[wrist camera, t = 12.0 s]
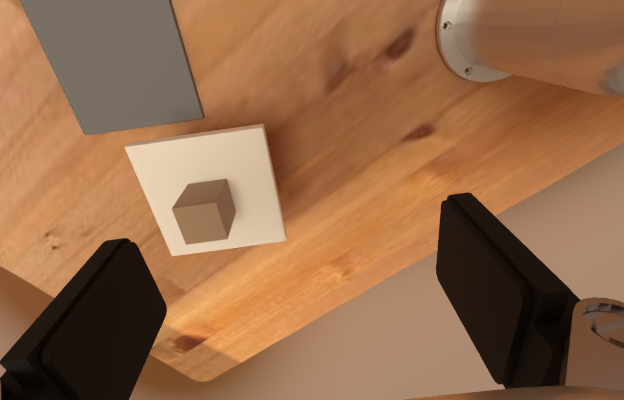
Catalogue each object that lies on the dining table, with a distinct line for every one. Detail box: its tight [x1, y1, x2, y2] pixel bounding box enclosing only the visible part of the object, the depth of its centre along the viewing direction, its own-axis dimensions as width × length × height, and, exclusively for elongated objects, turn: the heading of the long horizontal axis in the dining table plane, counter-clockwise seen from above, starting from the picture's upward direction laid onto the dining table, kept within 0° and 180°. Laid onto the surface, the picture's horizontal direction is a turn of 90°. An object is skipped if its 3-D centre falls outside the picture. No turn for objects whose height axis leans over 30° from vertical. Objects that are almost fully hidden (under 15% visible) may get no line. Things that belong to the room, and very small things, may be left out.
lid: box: [125, 124, 287, 256], centre depth 29 cm, size 12×12×6 cm
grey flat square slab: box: [20, 0, 204, 135], centre depth 34 cm, size 14×14×1 cm
